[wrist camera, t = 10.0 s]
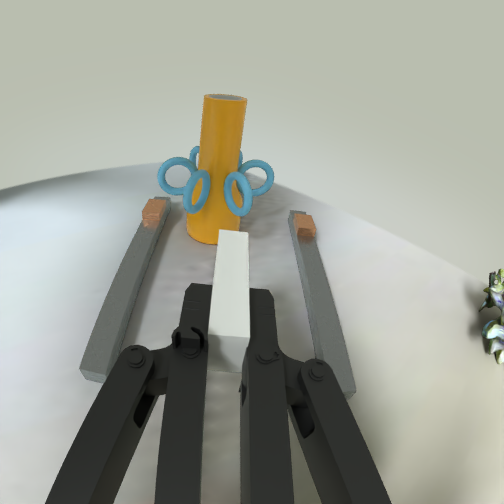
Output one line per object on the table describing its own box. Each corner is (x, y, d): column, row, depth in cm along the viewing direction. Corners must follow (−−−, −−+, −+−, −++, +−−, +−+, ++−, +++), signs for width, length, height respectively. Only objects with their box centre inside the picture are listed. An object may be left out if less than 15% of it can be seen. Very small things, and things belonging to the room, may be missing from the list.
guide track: (348, 399, 19) (362, 384, 17) (85, 379, 17) (74, 361, 15) (302, 221, 38) (307, 205, 36) (155, 207, 36) (154, 189, 34)
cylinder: (198, 197, 39) (208, 87, 30) (271, 219, 37) (294, 102, 28) (143, 243, 30) (138, 99, 21) (231, 277, 28) (254, 115, 19)
